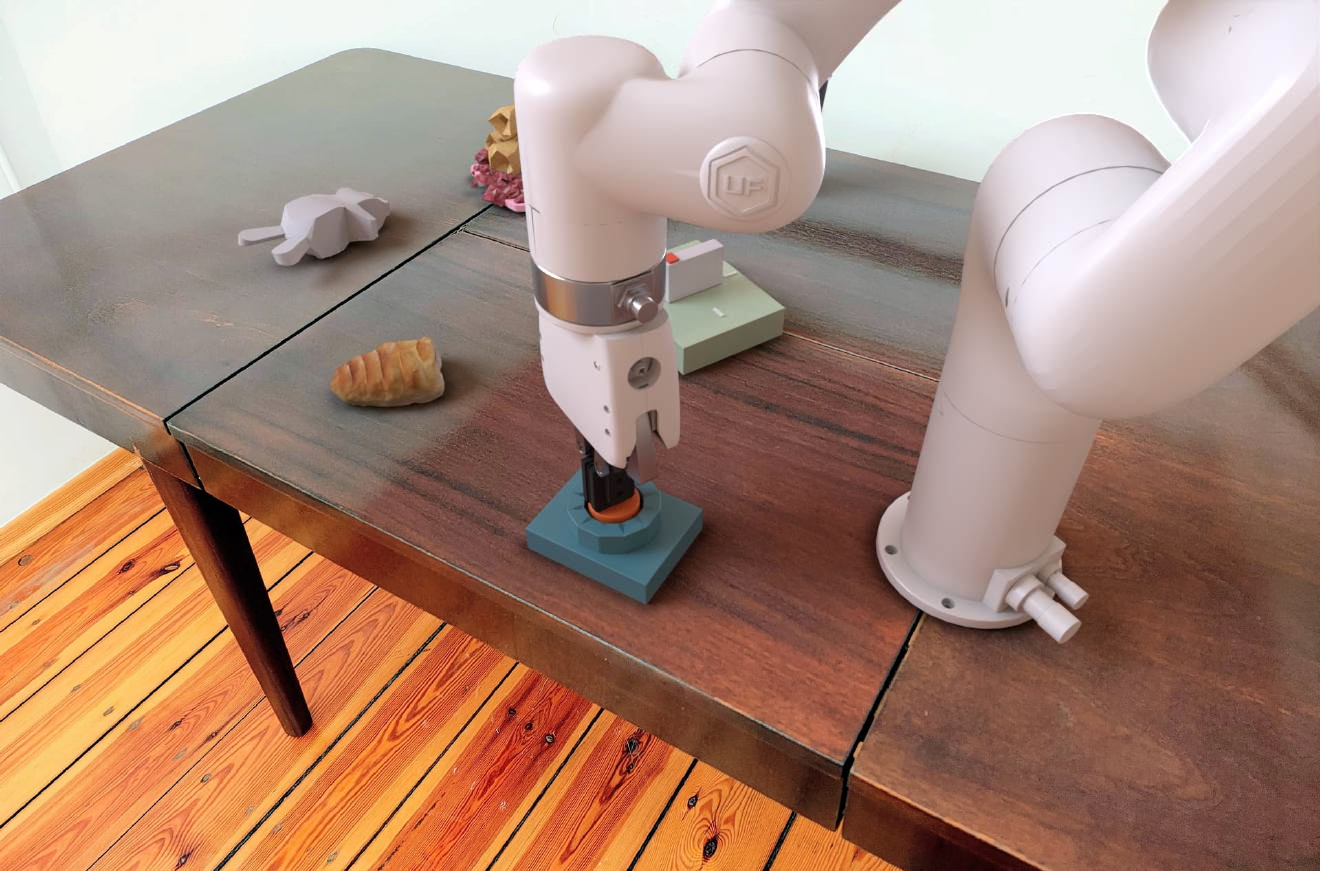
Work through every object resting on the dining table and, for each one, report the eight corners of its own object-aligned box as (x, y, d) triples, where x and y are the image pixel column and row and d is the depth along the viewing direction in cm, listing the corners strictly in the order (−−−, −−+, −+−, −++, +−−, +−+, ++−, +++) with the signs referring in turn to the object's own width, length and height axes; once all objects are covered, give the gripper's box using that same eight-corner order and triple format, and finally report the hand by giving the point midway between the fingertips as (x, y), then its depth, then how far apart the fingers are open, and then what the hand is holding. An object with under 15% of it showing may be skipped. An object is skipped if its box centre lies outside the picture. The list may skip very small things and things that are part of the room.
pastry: (337, 423, 77) (326, 388, 75) (332, 375, 82) (321, 340, 79) (451, 400, 79) (443, 364, 77) (439, 354, 84) (432, 319, 81)
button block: (702, 529, 68) (704, 491, 66) (646, 605, 63) (645, 568, 61) (589, 480, 72) (586, 442, 69) (527, 548, 67) (522, 511, 64)
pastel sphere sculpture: (434, 198, 105) (419, 119, 98) (541, 117, 120) (535, 44, 114) (633, 248, 97) (630, 166, 91) (720, 155, 112) (723, 78, 106)
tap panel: (782, 334, 86) (785, 306, 84) (683, 375, 82) (683, 346, 79) (697, 265, 95) (697, 237, 92) (603, 298, 90) (601, 271, 88)
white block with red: (712, 275, 88) (714, 235, 85) (722, 283, 87) (724, 243, 84) (659, 295, 85) (658, 255, 82) (668, 303, 84) (668, 263, 81)
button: (649, 508, 67) (649, 491, 65) (622, 541, 64) (621, 524, 63) (607, 490, 68) (606, 473, 67) (579, 522, 66) (577, 505, 64)
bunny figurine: (405, 194, 97) (284, 241, 87) (410, 239, 100) (294, 289, 90) (344, 170, 101) (222, 212, 91) (351, 214, 104) (233, 259, 94)
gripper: (731, 319, 49) (715, 545, 62) (592, 201, 59) (602, 418, 71) (608, 366, 46) (617, 594, 59) (482, 233, 56) (513, 455, 68)
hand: (609, 497), depth 65 cm, fingers closed
